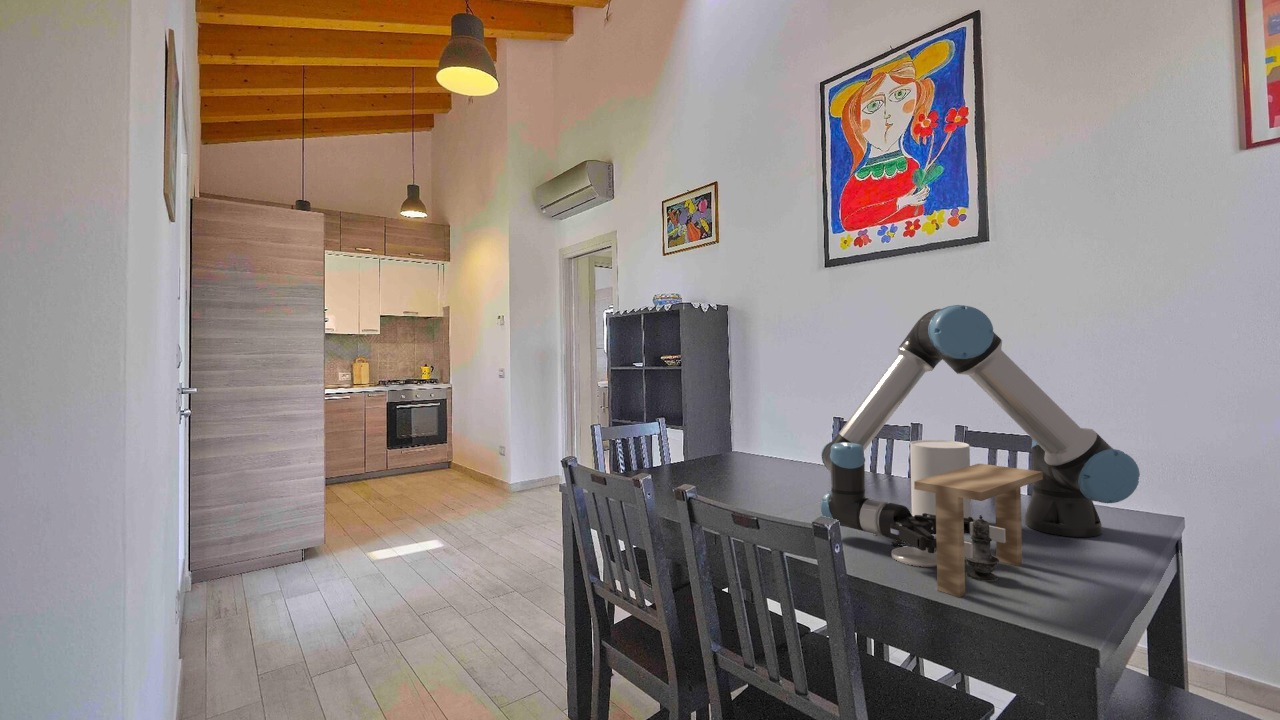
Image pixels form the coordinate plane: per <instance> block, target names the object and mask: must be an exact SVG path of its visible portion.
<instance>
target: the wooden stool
mask: <svg viewBox="0 0 1280 720" xmlns="http://www.w3.org/2000/svg"><path fill="white" fill-rule="evenodd" d="M1042 479H1043V472H1041V471H1034V470H1032V469H1025V468H1019V467H1018V468H1017V467H1009V466H1001V465H993V464H986V463H985V464H984V463H975V464H972V465H970V466H968V467H964V468H961V469H957V470H954V471H950V472H946V473H943V474H939V475H935V476H932V477H928V478H925V479H921V480H917V481H914V489H916V490H922V491H927V492H933V493H935V495H936V534H935V539H936V543H937V550H936V552H937V566H936V573H937V574H936V579H937V580H936V582H937V583H936V587H937V591H938V592H942V593H945V594H948V595H951V596H954V597H957V598H961V597H963V596H965V595H966V571H965V570H966V569H965V568H966V567H965V566H966V565H965V564H966V563H965V557H964V541H965V533H964V511H963V498H967V499H971V500H972V501H977V502H978V501H979V502H983V501H986V500H989V499H990V498H991V499H992V498H995V499H994V501H995V508H994V509H995V527H999V528H1004V529H1005V536H1006V542H1005V543H1001V542H997V541H995V548H996V549H995V551H996V552H995V553H996V556H995V557H996V558H998V559H999V563H1003V564H1004V563H1005V564H1009V565H1013V566H1017V567H1019V566H1021V565H1022V564H1023V552H1022V551H1023V548H1022V547H1023V544H1022V543H1023V542H1022V541H1023V540H1022V537H1023V536H1022V498H1021V497H1022V493H1021V492H1022V491H1021V489H1022V487H1025V486H1027V485H1030V484H1033V482H1036V481H1039V480H1042Z"/></svg>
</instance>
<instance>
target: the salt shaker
mask: <svg viewBox="0 0 1280 720" xmlns="http://www.w3.org/2000/svg"><path fill="white" fill-rule="evenodd" d="M989 526H990V523H989V522H988V521H987V520H985V519H984V518H983V516H982V514H980V515H979V516H978V519H975V520H974V521H973V536H971V537H970V540H972V541H971V543H972V547H973V558H967V557H964V560H965V559H966V564H967V566H968V567H969V568H970V570H969V571H967V572H966V573H965V576H967V577H968V578H970V579H972V580H975V581H978V582H979V581H980V582H984V583H985V582H987V583H988V582H989V583H990V582H991V583H992V582H996V581H997V582H998V579H999V578H998V576H997V575H996V574H994V573H993V572H994V571H996V570H997V567H998V563H1000V561H999V559H998V558H996V556H994V555H993V554H992V552H991V542H992V539H991V538H990V531H989Z"/></svg>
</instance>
